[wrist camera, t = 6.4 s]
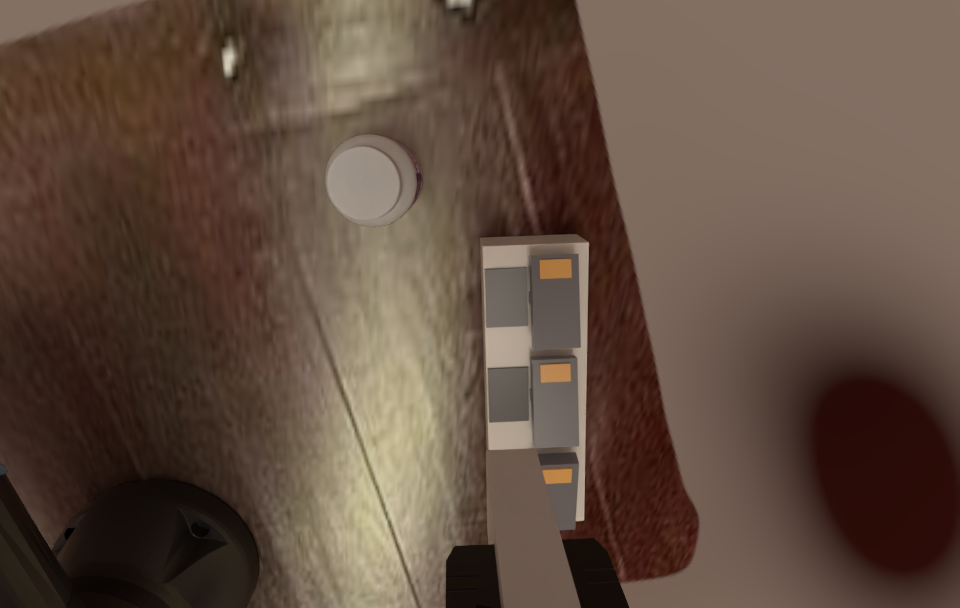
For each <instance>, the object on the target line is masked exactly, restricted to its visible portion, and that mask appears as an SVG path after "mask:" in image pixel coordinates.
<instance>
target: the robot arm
mask: <svg viewBox="0 0 960 608" xmlns="http://www.w3.org/2000/svg"><path fill="white" fill-rule="evenodd" d="M6 472H8V471H7V469H6V467H5V466H4V465H3V464H0V608H247V606H248V603H249V601H250V599H251V597H252V595H253V593H254V590H255V587H256V584H257V580H258V572H259V562H258V555H257V550H256V547H255V544H254V541H253V539H252V536H251V534H250V533H249V531H248V529H247V528H246V526H245V525H244V523H243V522H242V521H241V519H240V518H239V517H238V516H237V515H236V514H235V513H234V512H233V511H232V510H231V509H230V508H229V507H228V506H227V505H225V504H224V503H223V502H221V501H220V500H219V499H217V498H215V497H214V496H212V495H210V494H208V493H207V492H205V491H202V490H200V489H198V488H195V487H192V486H189V485H186V484H182V483H178V482H173V481H166V480H141V481H134V482H129V483H125V484H122V485H118V486H116V487H113V488H111V489H109V490H107V491H105V492H103V493H101V494H100V495H98V496H97V497H95V498H94V499H93V500H92V501H90V502H89V503H88V504H87V505H86V506H85V507H84V508H83V509H82V510H81V511H80V512H79V513H78V514H77V515H76V516H75V517H74V518H73V519H72V520H71V521H70V522H69V523H68V524H67V525H66V527H65V528H64V530H63V531H62V532H61V534H60V535H59V537H58V539H57V541H56V543H55V545H54V547H53V550H51V549H50V547H49V546H48V544H47V543H46V541H45V539H44V538H43V536H42V535H41V533H40V531H39V530H38V528H37V526H36V525H35V523H34V521H33V520H32V518H31V516H30V515H29V513H28V511H27V510H26V508H25V506H24V504H23V503H22V501H21V499H20V498H19V496H18V494H17V493H16V491H15V489H14V488H13V486H12V484H11V483H10V481H9V479H8V478H7V476H6V474H5V473H6ZM486 483H487V531H488V541H489V545H469V546H455V547H454V548H453V550H452V552H451V554H450V555H449V557H448V559H447V560H446V608H629V606H628V603H627V600H626V598H625V595H624V593H623V590H622V588H621V585H620V583H619V581H618V577H617V575H616V572H615V570H614V568H613V565H612V562H611V559H610V557H609V554H608V552H607V550H606V549H604V548H603V547H602V546H601V545H600V544H599V543H598V542H597V541H596V540H595V539H594V538H586V539H565V540H562V539H561V535H560V532H559V528H558V525H557V521H556V518H555V514H554V511H553V507H552V504H551V500H550V497H549V493H548V490H547V486H546V483H545V479H544V475H543V472H542V468H541V465H540V461H539V458H538V454H537V451H536V448H529V449H504V450H486Z"/></svg>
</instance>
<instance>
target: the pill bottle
mask: <svg viewBox="0 0 960 608" xmlns="http://www.w3.org/2000/svg"><path fill="white" fill-rule="evenodd" d="M422 180H423V179H422V170H421V167H420V164H419V162H418V160H417V158H416V156H415V155H414V154H413V152H412V151H411V150H410V149H409V148H408V147H407V146H405V145H404V144H403V143H401V142H399V141H397V140H394V139H392V138H388V137H384V136H380V135H375V134H364V135H358V136H355V137H352V138H350V139H348V140H346V141H345V142H343V143H342V144H341V145H340V146H339V147H337V149H336V150H335V151H334V152H333V154H332V155H331V157H330V159H329V161H328V164H327V167H326V172H325V186H326V190H327V194H328V197H329V199H330V201H331V203H332V204H333V206H334V207H335V209H336V210H337V211H338V212H339V213H340V214H341V215H342V216H344V217H345V218H346V219H348V220H350V221H351V222H353V223H355V224H358V225H362V226H367V227H380V226H385V225H388V224H391V223H393V222H395V221H397V220H398V219H399V218H401V217H402V216H403V215H404V214H405V213H406V212H407V211H408V210H409V209H410V208H411V206H412V205H413V204H414V203H415V201H416V200H417V198H418V196H419V194H420V191H421V188H422Z"/></svg>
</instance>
